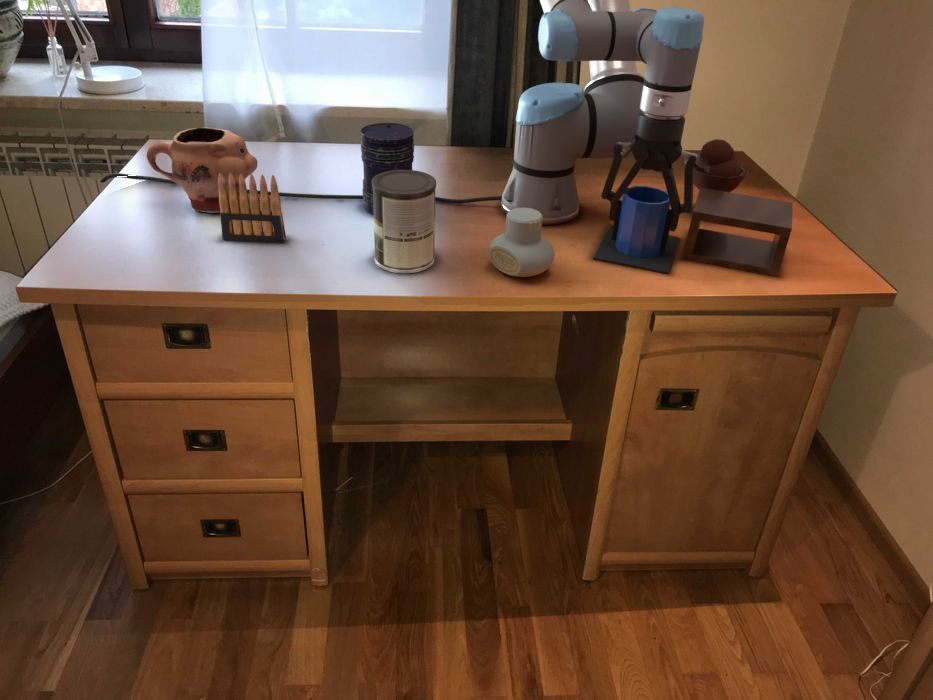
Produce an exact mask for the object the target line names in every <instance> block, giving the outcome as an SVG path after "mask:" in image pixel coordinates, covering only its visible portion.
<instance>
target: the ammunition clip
mask: <svg viewBox="0 0 933 700" xmlns="http://www.w3.org/2000/svg"><path fill="white" fill-rule="evenodd" d="M228 182H229V197H228V194H227V190H226V185H225V181H224V178H223V175H222V174H221V173H219V176H218V187H219V203H220V210H221V212H219V217H220V226H221V227H220V228H221V235H222V240H223V241H225V242H226V241H227V242H248V243H268V244H269V243H270V244H272V243H273V244H285V241H286V240H287V235H286V229H285V222H284V216H283V211H282V204H281V203H282V202H281V196H279V192H280V191H279V186H278V182H277V179H276V177H275V175H274V174H272V175H271V178H270V192H271V196H269V195H268V190H269V189H268V184H267V181H266V178H265V176H264V174H261V175H260V179H259V191H260V195H258V192H257V190H258V187H257V182H256V179H255V176H254V174H253V173H252V174H250V175H249V181H248V186H249V187H247V183H246V179H244V177H243V175H242V174H240V176H239V193H240V196H238V194H237V189H236V184H235V180H234V177H233V175H232V174H231V173H230V174H229V181H228ZM248 188H249V190H250V194H248V193H247V189H248ZM239 201H240V202H239ZM229 202H230V203H229Z"/></svg>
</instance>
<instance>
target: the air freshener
mask: <svg viewBox="0 0 933 700" xmlns="http://www.w3.org/2000/svg"><path fill="white" fill-rule="evenodd" d="M542 222H543V216H542V214H541V213H540V212H539V211H537V210H534V209H531V208H515V209H512V210H510V211H509V212H508V213H507V215H506V219H505V228H504V229H505V230H504V232H503V233H500V234H499V235H498V236H496V237H495V238H493V240H492V241H491V243H490V244H489V246H488V258H489V260H490V262H491V264H492V265H493V266H494V267H495V268H496V269H498V270H499V271H500V272H501V273H503V274H505V275H507V276H508V277H509V276H510V277H517V278H529V277H534V276H538V275H540V274H542V273H544V272H545V271H547V270H548V269H549V268H550V267H551V266H552V265H553V262H554V260H555V250H554V247H553V245H552V244H551V242H550V240H548V239H547V238H546V237H544V236H543V235H542V231H543V225H542Z"/></svg>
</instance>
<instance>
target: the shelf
mask: <svg viewBox="0 0 933 700" xmlns="http://www.w3.org/2000/svg"><path fill="white" fill-rule="evenodd" d="M698 190H699V189H698ZM793 203H794V202H791V201H786V200H779V199H773V198H767V197H763V196H762V197H761V196H755V195H750V194H744V193H743V194H742V193H737V192H732V191H731V192H725V191H719V190H713V189H707V188H700V190H699V191H698V194H697V197H696V199H695V203H694V205H693V208H692V213H691V218H690V222H689V227H688V231H687V236H686V240H685V243H684V244H685V245H684V250H683V253H682V257H681V258H682V260H686V261H692V262H697V263H702V264H708V265H714V266H718V267H723V268H729V269H734V270H739V271H744V272H750V273H755V274H761V275H765V276H771V277H776V278H778V276H779V273H780V270H781V267H782V264H783V261H784V256H785V253H786V250H787V247H788V243H789V240H790V237H791V234H792V231H793V211H794V209H793V208H794V204H793ZM702 222H704V223H708V224H709V223H710V224H715V225H721V226H727V227H731V228H732V227H733V228H736V229H737V228H738V229H743V230H749V231H755V232H761V233H766V234H770V235H771V234H772V235H773V238H772V240H767V239H760V238H756V237H749V236H745V235H739V234H733V233H727V232H722V231H716V230H710V229H705V228H701V224H702Z"/></svg>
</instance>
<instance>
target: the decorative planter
mask: <svg viewBox="0 0 933 700" xmlns="http://www.w3.org/2000/svg"><path fill="white" fill-rule="evenodd" d="M246 144H247V143H246V141H245V140H244V138H243V137H241V136H239V135H237V134H235V133H234V132H232V131H231V130H228V129H222V128H221V129H220V128H213V127H192V128H188V129H185V130H181V131H179V132H178V133H176V134H175V135H174V137H173V139H172V141H161V142H160V141H159V142H155V143H153V144H152V145H150V146H149V147H148V148H147V151H146V160H147V162H148V165H150V167H151V169H153V170H154V171H155V172H157V173H159V174H161V175H163V176H164V177H165V178H166V179H170V180H172V181H173V182H175V183H177V184H176V185H178V186H180V187H181V188H182V189H183V190H184V192H185V193H186V195H187V198H188V199H189V202H190V205H191V207H192V209H193V210H195V211H197V212H201V213H202V212H204V213H221V210H220V203H219V187H218V176H219V173H221V174H222V175H223V178H224V181H225V185H226V190H227V194H228V197H229V182H228V181H229V174H230V173H231V174H232V175H233V177H234V180H235V184H236V189H237V194H238V196H240V193H239V176H240V174H242V175H243V177H244V179H245V180H246V179H247V178H248V177H250V175H251V174H252V175H253V173H255V171H256V170H257V168H258V165H259V164H258V163H259V162H258V159H257V157H255V156H254V155H252V154H251V153H250V152H249V150H248V148H247V145H246ZM159 154H166V155H167V156H168V157H169V158H170V159H171V172H168V171H165V170H164V169H162V168H160V167H159V165H158V164H157V162H156V160H157V159H156V158H157V156H158V155H159ZM239 202H240V201H239ZM229 203H230V202H229Z"/></svg>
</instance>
